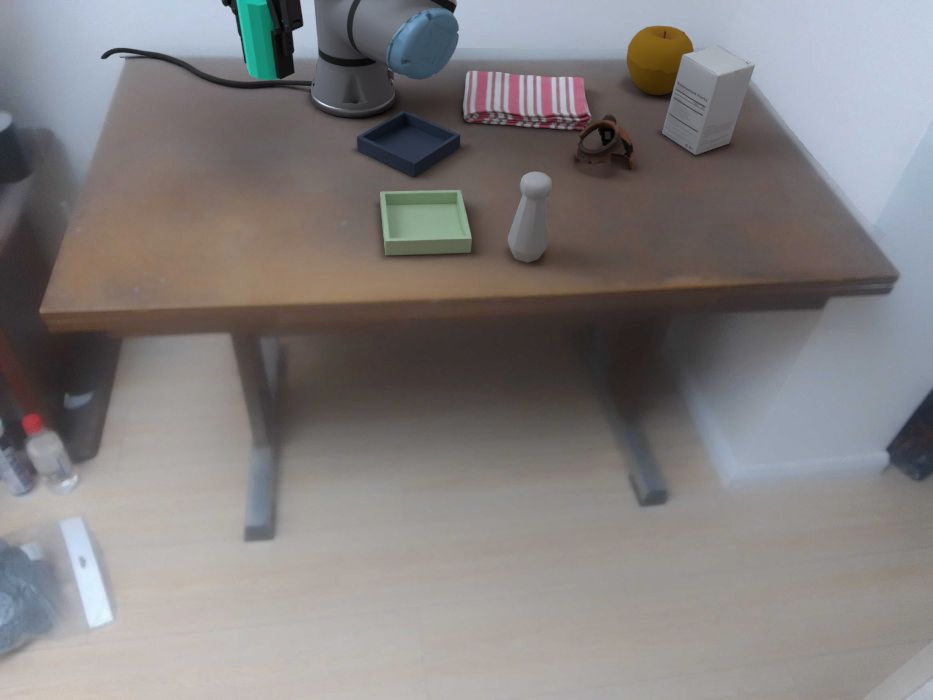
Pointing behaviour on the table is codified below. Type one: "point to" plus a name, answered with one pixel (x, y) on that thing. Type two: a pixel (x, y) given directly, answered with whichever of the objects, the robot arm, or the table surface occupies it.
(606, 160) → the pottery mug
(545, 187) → the salt shaker
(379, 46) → the robot arm
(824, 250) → the table surface
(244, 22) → the candle
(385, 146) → the dark tray
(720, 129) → the rectangular carton
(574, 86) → the dish towel
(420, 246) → the pale tray
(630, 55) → the apple
